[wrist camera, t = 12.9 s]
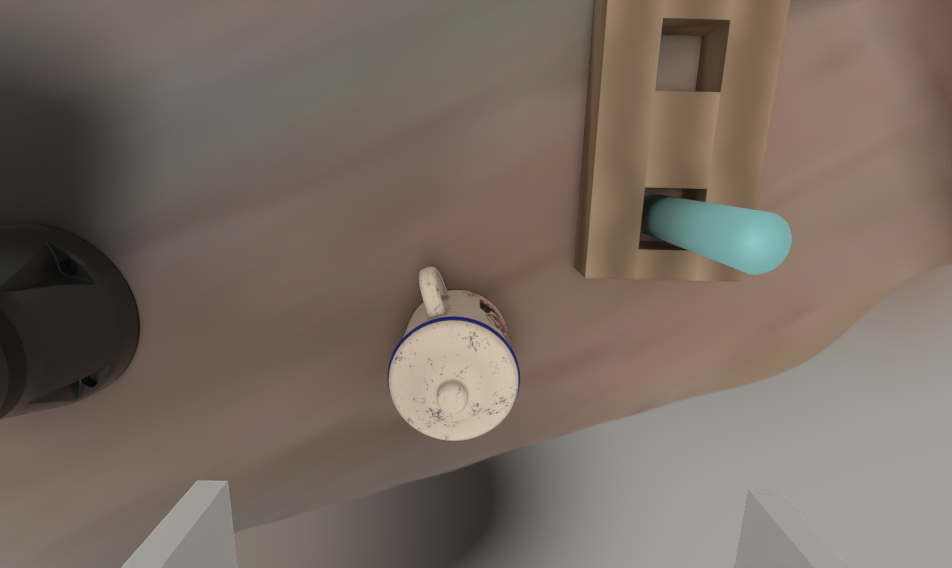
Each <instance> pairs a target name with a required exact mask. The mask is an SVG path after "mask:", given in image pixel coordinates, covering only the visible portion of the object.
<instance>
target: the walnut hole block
mask: <svg viewBox="0 0 952 568" xmlns="http://www.w3.org/2000/svg"><path fill="white" fill-rule="evenodd" d="M789 5H790V0H594V11H593V24H592V38H591V51H590V64H589V78H588V91H587V104H586V118H585V131H584V144H583V158H582V171H581V184H580V198H579V211H578V225H577V238H576V251H575V265H574V267H575V268H576V269H577V270H578V271H579V272H580V273H581V274H582V275H583V276H584V277H585V278H605V279H650V280H694V281H739V282H745V276H746V273H745V272H743V271H740V270H737V269H735V268H732V267H730V266H727V265H725V264H722V263H719V262H717V261H714V260H712V259H709V258H707V257H704V256H702V255H699V254H696V253H694V252H691V251H689V250H686V249H684V248H681V247H678V246H676V245H673V244H671V243H668V242H639V238H640V229H641V219H642V210H643V201H644V191H645V187H650V188H683V196H682V199H689V200H695V201H701V202H708V203H714V204H721V205H727V206H733V207H740V208H746V209H752V210H756V208H757V202H758V195H759V189H760V183H761V177H762V171H763V165H764V159H765V152H766V146H767V140H768V134H769V128H770V122H771V115H772V109H773V103H774V97H775V91H776V85H777V78H778V72H779V66H780V60H781V54H782V48H783V41H784V35H785V29H786V23H787V17H788V11H789ZM661 34H667V35H702V36H703V37H702V45H701V53H700V61H699V69H698V77H697V85H696V92H692V91H656V90H655V88H656V78H657V69H658V60H659V50H660V41H661Z"/></svg>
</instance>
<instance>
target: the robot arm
mask: <svg viewBox="0 0 952 568" xmlns="http://www.w3.org/2000/svg"><path fill="white" fill-rule="evenodd" d="M138 331H139V325H138V315H137V310H136V306H135V302H134V299H133V297H132V294H131V292H130V290H129V288H128V286H127V284H126V282H125V281H124V279H123V277H122V276H121V274H120V273H119V272H118V270H117V269H116V268H115V267H114V265H113V264H112V263H111V262H110V261H109V260H108V259H107V258H106V257H105V256H104V255H103V254H102V253H101V252H99V251H98V250H97V249H96V248H94V247H93V246H92V245H90V244H89V243H87V242H86V241H84V240H82V239H81V238H79V237H77V236H75V235H73V234H71V233H68V232H66V231H63V230H60V229H57V228H53V227H50V226H45V225H38V224H16V225H8V226H1V227H0V420H1V419H4V418H9V417H13V416H18V415H23V414H27V413H32V412H37V411H42V410H46V409H51V408H56V407H60V406H65V405H68V404H72V403H74V402H77V401H80V400H82V399H84V398H86V397H88V396H90V395H92V394H93V393H95V392H97V391H98V390H100V389H102V388H103V387H105V386H107V385H108V384H110V383H111V382H113V381H114V380H115V379H116V378H117V377H119V376H120V374H121V373H122V372H123V371H124V370H125V369H126V367H127V366H128V364H129V363H130V361H131V359H132V357H133V354H134V352H135V349H136V345H137V341H138ZM121 568H238V566H237V558H236V548H235V540H234V531H233V522H232V513H231V504H230V495H229V486H228V481H203V480H197V481H196V482H195V483H194V485H193V486H192V487H191V488H190V489H189V490H188V491H187V493H186V494H185V495H184V496H183V497H182V498H181V499H180V501H179V502H178V503H177V504H176V505H175V506H174V507H173V509H172V510H171V511H170V512H169V513H168V514H167V515H166V517H165V518H164V519H163V520H162V521H161V522H160V523H159V525H158V526H157V527H156V528H155V529H154V530H153V531H152V533H151V534H150V535H149V536H148V537H147V538H146V539H145V541H144V542H143V543H142V544H141V545H140V546H139V548H138V549H137V550H136V551H135V552H134V553H133V554H132V556H131V557H130V558H129V559H128V560H127V561H126V562H125V564H124V565H123V566H122V567H121ZM734 568H851V567H850V566H849V565H848V564H847V563H846V562H845V561H844V560H843V559H842V558H841V557H840V555H839V554H838V553H837V552H836V551H835V550H834V549H833V548H832V547H831V546H830V545H829V544H828V543H827V542H826V540H825V539H823V537H822V536H821V535H820V534H819V533H818V532H817V531H816V530H815V529H814V528H813V527H812V526H811V525H810V523H809V522H808V521H807V520H806V519H805V518H804V517H803V516H802V515H801V514H800V513H799V512H798V511H797V510H796V509H795V507H794V506H793V505H792V504H791V503H790V502H789V501H788V500H787V499H786V498H785V497H784V496H783V495H782V494H781V493H780V492H779V491H777V490H748V495H747V501H746V506H745V512H744V518H743V523H742V529H741V534H740V539H739V544H738V550H737V555H736V561H735V566H734Z"/></svg>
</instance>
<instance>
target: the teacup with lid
mask: <svg viewBox="0 0 952 568" xmlns="http://www.w3.org/2000/svg"><path fill="white" fill-rule="evenodd" d="M419 284H420V290H421V294H422V298H423V301H424V302H423V303H422V304H421V305H420V306H419V307H418V308H417V309H416V311H415V312H414V314H413V315H412V317H411V319H410V322H409V324H408V327H407V329H406V332H405V334H404V337H403V339H402V340H401V341H400V343H399V344H398V345H397V347H396V349H395V350H394V352H393V355H392V357H391V360H390V363H389V368H388V387H389V392H390V395H391V398H392V400H393V403H394V405H395V407H396V409H397V410H398V412H399V413H400V415H401V416H402V417H403V418H404V419H405V420H406V421H407V422H408V423H409V424H410V425H411V426H412V427H414V428H415V429H417V430H418V431H420V432H422V433H423V434H426V435H428V436H431V437H434V438H437V439H442V440H451V441H457V440H466V439H471V438H474V437H477V436H480V435H482V434H484V433H486V432H488V431H490V430H491V429H493V428H494V427H496V426H497V425H498V424H499V423H500V422H501V421H502V420H503V419H504V418H505V417H506V416H507V414H508V413H509V411H510V410H511V408H512V406H513V405H514V402H515V400H516V398H517V395H518V391H519V384H520V372H519V366H518V362H517V359H516V356H515V354H514V352H513V350H512V348H511V345H510V340H509V336H508V331H507V326H506V323H505V321H504V319H503V317H502V315H501V313H500V312H499V310H498V309H497V308H496V307H495V306H494V305H493V304H492V303H491V302H490V301H489V300H487V299H486V298H484V297H482V296H480V295H478V294H476V293H473V292H469V291H464V290H450V291H447V290H446V287H445V284H444V281H443V279H442V276H441V274H440V273H439V271H438V270H437V269H436V268H435V267H432V266H431V267H427V268H424V269H422V270H421V271H420V274H419Z"/></svg>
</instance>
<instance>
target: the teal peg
mask: <svg viewBox="0 0 952 568" xmlns="http://www.w3.org/2000/svg"><path fill="white" fill-rule="evenodd" d="M640 231H641V232H643V233H645V234H648V235H650V236H653V237H655V238H658V239H661V240H663V241H666V242H668V243H671V244H673V245H676V246H678V247H681V248H684V249H686V250H689V251H691V252H694V253H696V254H699V255H702V256H704V257H707V258H709V259H712V260H714V261H717V262H719V263H722V264H725V265H727V266H730V267H732V268H735V269H737V270H740V271H743V272H745V273H748V274H763V273H766V272H769V271H771V270H773V269H775V268H776V267H777V266H779V265H780V264H781V263H782V262H783V260H784V259H785V258H786V256H787V254H788V253H789V250H790V247H791V241H792V236H791V231H790V228H789V226H788V224H787V222H786V221H785V220H784V219H783V218H782V217H780V216H779V215H777V214H774V213H771V212H765V211H759V210H752V209H746V208H740V207H733V206H727V205H721V204H714V203H708V202H701V201H695V200H689V199H682V198H676V197H670V196H663V195H657V194H651V195H647V196H644V201H643V210H642V219H641V229H640Z"/></svg>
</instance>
